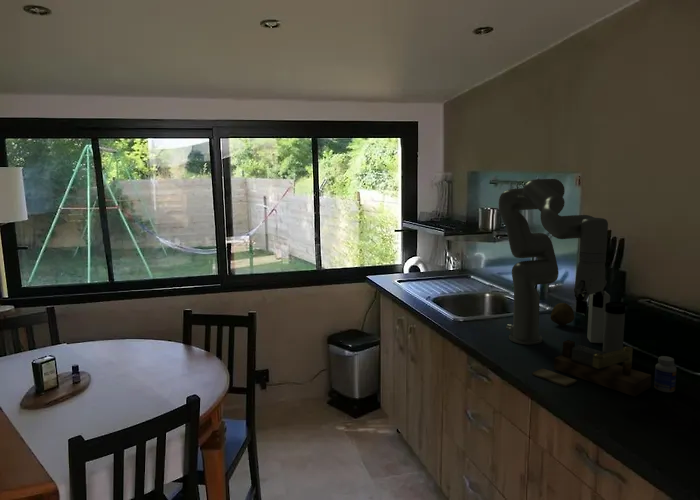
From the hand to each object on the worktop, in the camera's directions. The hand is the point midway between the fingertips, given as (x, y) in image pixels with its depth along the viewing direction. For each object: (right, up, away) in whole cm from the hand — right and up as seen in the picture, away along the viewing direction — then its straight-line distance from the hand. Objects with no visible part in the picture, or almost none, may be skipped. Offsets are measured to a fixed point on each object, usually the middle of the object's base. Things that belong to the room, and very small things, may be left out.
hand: (589, 309), depth 156 cm
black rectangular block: (+1, -18, +2) cm, 18 cm away
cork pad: (-11, -22, +2) cm, 25 cm away
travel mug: (+17, -19, +17) cm, 31 cm away
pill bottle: (+19, -23, -8) cm, 31 cm away
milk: (+20, -16, +34) cm, 42 cm away
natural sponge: (+14, -13, +52) cm, 55 cm away
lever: (+3, -19, -9) cm, 21 cm away
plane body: (+4, -22, +1) cm, 22 cm away
